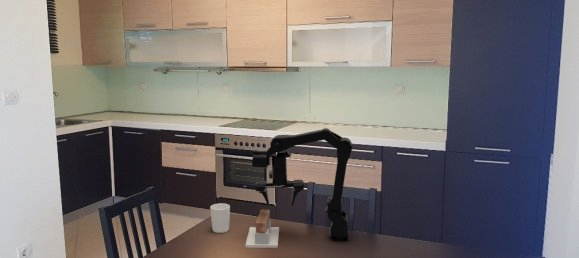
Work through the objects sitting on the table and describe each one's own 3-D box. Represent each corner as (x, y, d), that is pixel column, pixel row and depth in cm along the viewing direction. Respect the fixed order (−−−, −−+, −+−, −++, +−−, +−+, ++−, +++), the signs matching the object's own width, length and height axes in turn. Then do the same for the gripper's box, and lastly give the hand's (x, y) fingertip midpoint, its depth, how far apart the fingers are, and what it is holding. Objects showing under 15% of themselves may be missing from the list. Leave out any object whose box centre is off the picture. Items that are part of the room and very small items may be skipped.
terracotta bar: (269, 219, 190) (269, 209, 189) (265, 233, 175) (265, 223, 174) (261, 219, 190) (261, 209, 189) (255, 233, 175) (255, 223, 174)
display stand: (279, 229, 192) (279, 217, 191) (277, 247, 174) (277, 234, 173) (250, 229, 192) (249, 217, 191) (245, 247, 174) (245, 234, 173)
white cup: (220, 235, 186) (220, 211, 185) (207, 230, 191) (206, 207, 189) (234, 229, 192) (233, 205, 191) (220, 224, 197) (220, 202, 195)
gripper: (302, 162, 189) (303, 199, 192) (256, 163, 189) (258, 200, 192) (303, 169, 178) (304, 208, 181) (254, 170, 178) (256, 209, 181)
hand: (280, 206), depth 184 cm, fingers open, 9 cm apart
